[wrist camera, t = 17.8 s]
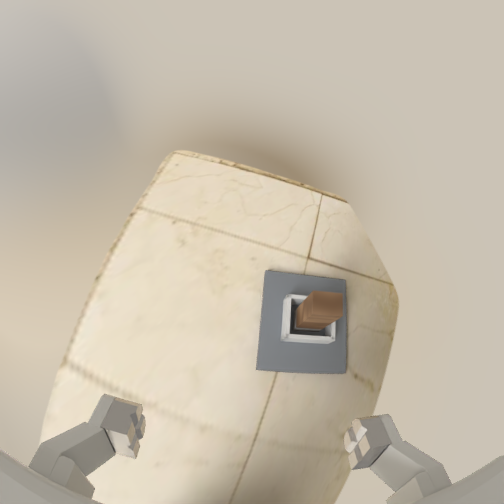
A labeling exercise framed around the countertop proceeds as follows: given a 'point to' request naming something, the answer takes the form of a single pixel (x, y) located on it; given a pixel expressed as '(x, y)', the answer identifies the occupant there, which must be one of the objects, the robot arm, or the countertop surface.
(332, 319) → the block
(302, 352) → the grey socket base
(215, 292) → the countertop surface
